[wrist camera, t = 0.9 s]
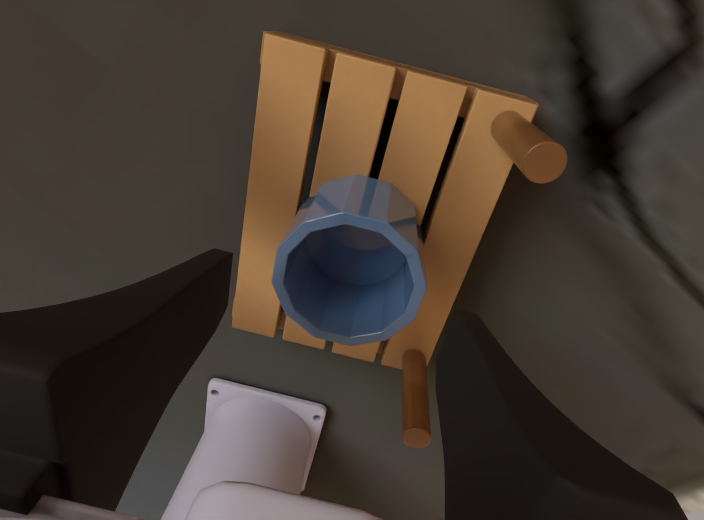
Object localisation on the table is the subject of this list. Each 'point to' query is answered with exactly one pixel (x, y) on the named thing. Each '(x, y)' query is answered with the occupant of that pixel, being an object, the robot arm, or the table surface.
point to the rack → (397, 168)
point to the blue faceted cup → (352, 262)
